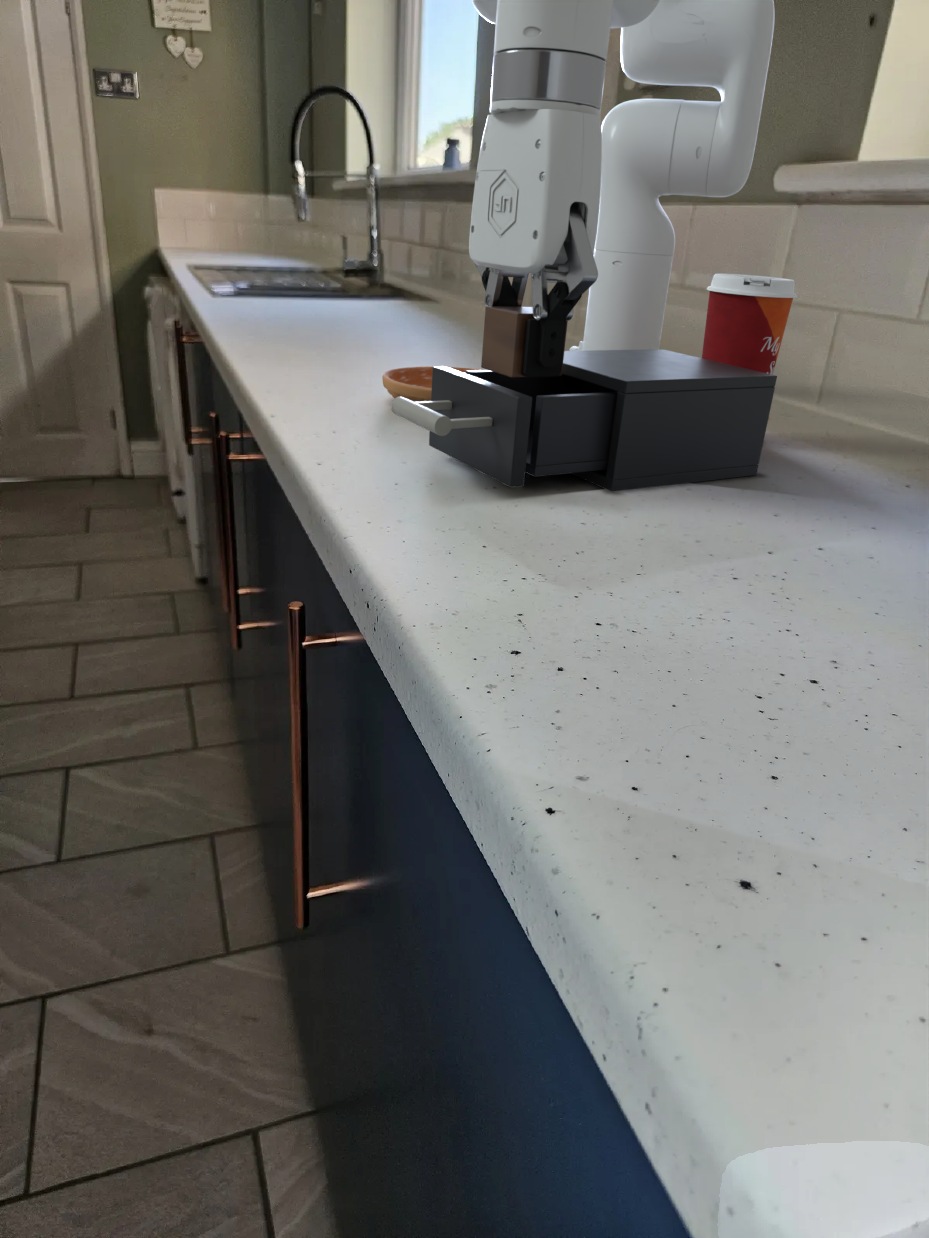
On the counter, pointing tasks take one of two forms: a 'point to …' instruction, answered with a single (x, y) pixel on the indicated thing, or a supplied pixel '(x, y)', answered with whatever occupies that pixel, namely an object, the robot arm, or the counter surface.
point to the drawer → (516, 422)
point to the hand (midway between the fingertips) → (521, 367)
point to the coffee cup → (747, 320)
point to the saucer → (412, 382)
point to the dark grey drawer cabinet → (676, 416)
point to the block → (506, 339)
